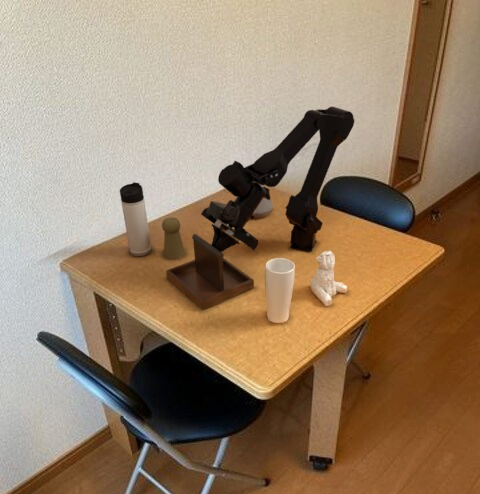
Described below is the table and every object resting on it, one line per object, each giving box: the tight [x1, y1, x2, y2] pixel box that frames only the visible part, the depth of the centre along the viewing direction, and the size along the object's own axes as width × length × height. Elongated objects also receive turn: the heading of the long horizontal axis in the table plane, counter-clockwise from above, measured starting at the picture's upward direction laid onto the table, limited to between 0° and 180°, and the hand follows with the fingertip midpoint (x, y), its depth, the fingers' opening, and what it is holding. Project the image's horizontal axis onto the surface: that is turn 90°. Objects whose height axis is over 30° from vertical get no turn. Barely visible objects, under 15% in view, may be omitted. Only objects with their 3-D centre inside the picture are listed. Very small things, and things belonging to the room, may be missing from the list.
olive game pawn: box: [161, 217, 185, 260], centre depth 142 cm, size 6×6×11 cm
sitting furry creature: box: [309, 249, 348, 307], centre depth 125 cm, size 10×9×12 cm
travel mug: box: [119, 181, 152, 257], centre depth 141 cm, size 6×7×20 cm
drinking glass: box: [264, 257, 296, 324], centre depth 116 cm, size 7×7×15 cm
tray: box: [165, 233, 255, 311], centre depth 129 cm, size 16×18×12 cm
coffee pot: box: [223, 181, 274, 220], centre depth 157 cm, size 21×12×15 cm, turn 144°
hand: (210, 255), depth 128 cm, fingers closed, pressing on tray
